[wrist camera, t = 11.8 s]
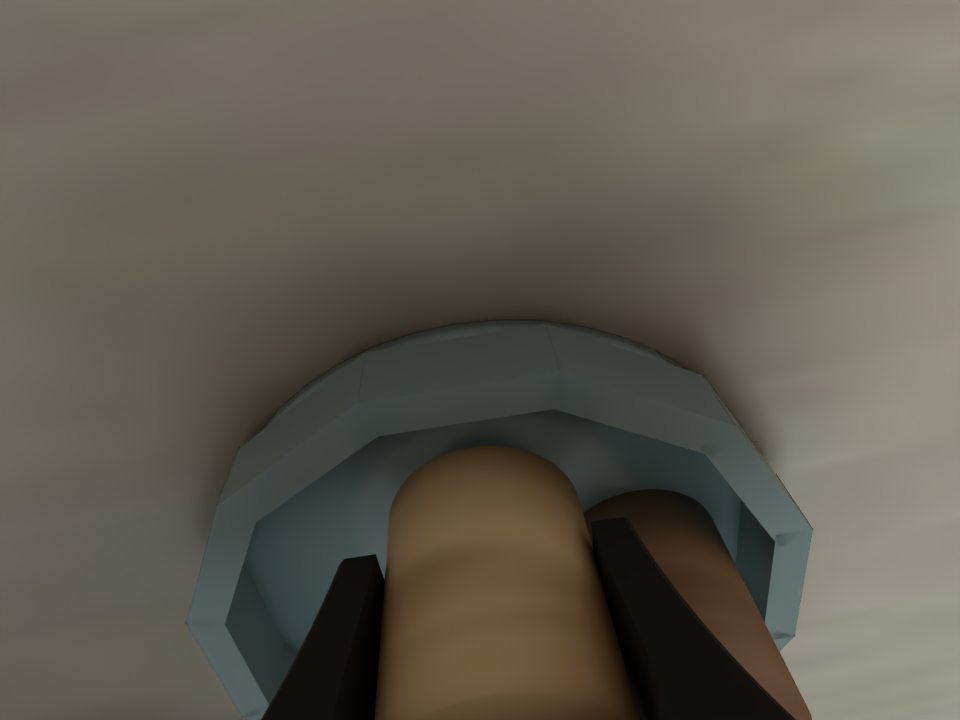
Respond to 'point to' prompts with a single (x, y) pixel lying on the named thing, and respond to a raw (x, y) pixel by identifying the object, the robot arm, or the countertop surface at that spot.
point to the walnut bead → (706, 581)
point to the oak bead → (495, 598)
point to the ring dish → (458, 425)
